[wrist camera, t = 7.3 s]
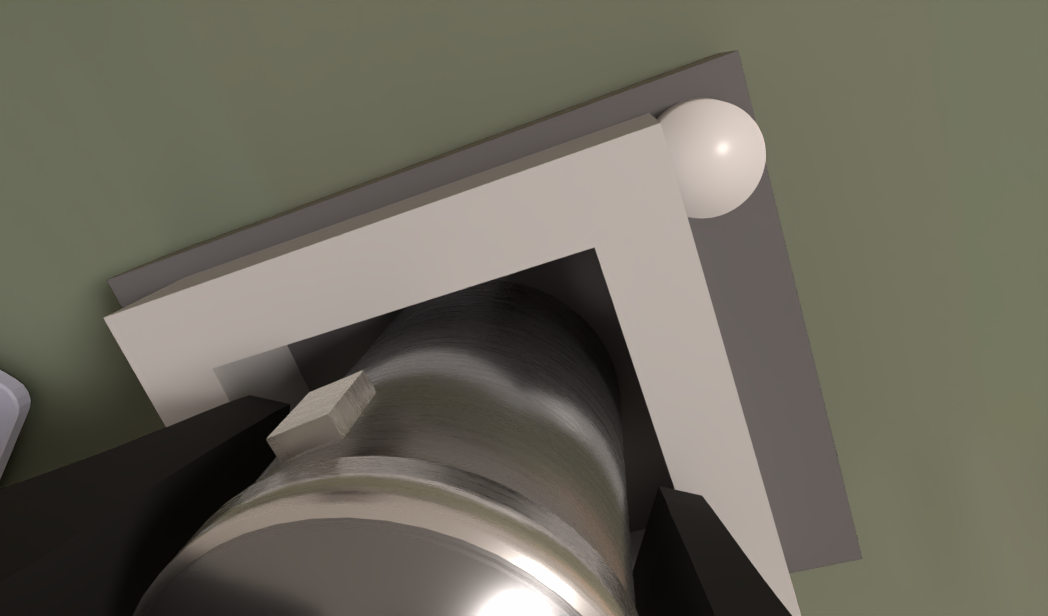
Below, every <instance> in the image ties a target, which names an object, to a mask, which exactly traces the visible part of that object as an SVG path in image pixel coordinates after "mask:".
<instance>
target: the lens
mask: <svg viewBox="0 0 1048 616" xmlns="http://www.w3.org/2000/svg"><path fill="white" fill-rule="evenodd" d="M266 440H267V442H268V443H269V445H270V447H271V448H272V450H273V451H274V453H275V454H276V456H277V457H276V458H275V459H274V460H273V461H272V462H271V464H270V465H269V466H268V467H267V468H266V469H265V471H264V472H263V473H262V474H261V475H260V476H259V478H258V479H257V480H256V481H255V482H254V483H253V485H251V486H249V487H248V488H246V489H245V490H243V491H242V492H240V493H239V494H237V495H236V496H234V497H233V498H231V499H230V500H229V501H227V502H226V503H225V504H224V505H223V506H222V507H221V508H220V509H219V510H218V511H216V512H215V513H214V514H213V515H212V516H211V517H210V518H209V519H208V520H207V521H206V522H205V523H204V524H203V526H202V527H201V528H200V529H199V530H198V531H197V532H196V533H195V535H194V536H193V537H192V538H191V539H190V540H189V541H188V542H187V544H186V545H185V546H184V547H183V548H182V549H181V550H180V551H179V553H178V554H177V555H176V556H175V557H174V558H173V559H172V560H171V562H170V563H169V564H168V565H167V566H166V567H165V568H164V569H163V571H162V572H161V573H160V574H159V575H158V577H157V578H156V579H155V580H154V582H153V583H152V584H151V586H150V587H149V588H148V590H147V591H146V592H145V594H144V595H143V596H142V598H141V600H140V602H139V604H138V606H137V608H136V610H135V612H134V614H133V616H638V613H637V611H636V607H635V594H634V581H633V567H632V554H631V541H630V528H629V515H628V501H627V488H626V475H625V462H624V449H623V436H622V422H621V409H620V396H619V385H618V381H617V376H616V372H615V369H614V366H613V363H612V361H611V358H610V355H609V354H608V352H607V350H606V348H605V346H604V344H603V343H602V341H601V339H600V338H599V337H598V335H597V334H596V333H595V331H594V330H593V329H592V327H591V326H590V325H589V324H588V323H587V322H586V321H585V320H584V319H583V318H582V317H581V316H580V315H579V314H578V313H576V312H575V311H574V310H573V309H571V308H570V307H569V306H568V305H566V304H565V303H563V302H561V301H560V300H558V299H556V298H555V297H553V296H552V295H549V294H547V293H545V292H543V291H540V290H538V289H536V288H533V287H530V286H526V285H523V284H520V283H515V282H510V281H504V280H490V281H487V282H484V283H480V284H477V285H474V286H471V287H468V288H465V289H462V290H458V291H455V292H452V293H449V294H446V295H443V296H439V297H436V298H433V299H430V300H427V301H424V302H420V303H417V304H414V305H411V306H408V307H406V308H405V309H404V310H403V311H402V312H401V313H399V314H398V315H397V316H396V317H395V318H394V320H393V321H392V322H391V323H390V324H389V325H388V327H387V328H386V329H385V330H384V331H383V332H382V334H381V335H380V336H379V337H378V338H377V340H376V341H375V342H374V343H373V344H372V345H371V347H370V348H369V349H368V350H367V351H366V352H365V354H364V355H363V356H362V357H361V358H360V359H359V361H358V362H357V363H356V364H355V365H354V366H353V368H352V369H351V370H350V371H349V372H348V373H347V375H346V376H345V377H344V378H343V379H340V380H338V381H336V382H333V383H331V384H328V385H326V386H324V387H321V388H319V389H316V390H314V391H312V392H309V393H308V394H307V395H306V396H305V397H304V398H303V400H302V401H301V402H300V403H299V404H298V405H297V406H296V407H295V408H294V409H293V410H292V411H291V412H290V414H289V415H288V416H287V417H286V418H285V419H284V420H283V421H282V422H281V423H280V424H279V425H278V427H277V428H276V429H275V430H274V431H273V432H272V433H271V434H270V435H269V436H268V437H267V438H266Z"/></svg>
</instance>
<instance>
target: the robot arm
mask: <svg viewBox="0 0 1048 616" xmlns="http://www.w3.org/2000/svg"><path fill="white" fill-rule="evenodd" d="M30 404H31V399H30V396H29V392H28V391H27V389H26V388H25V386H24V385H23V384H22V383H21V382H19V381H18V380H17V379H15V378H13V377H12V376H10V375H8V374H7V373H5V372H3V371H2V370H0V479H1V477H2V474H3V472H4V469H5V467H6V465H7V462H8V460H9V457H10V455H11V453H12V450H13V448H14V445H15V443H16V440H17V438H18V436H19V433H20V431H21V428H22V426H23V424H24V421H25V419H26V416H27V414H28V411H29V409H30ZM289 414H290V404H288V403H283V402H279V401H274V400H270V399H265V398H261V397H256V396H252V395H248V396H245V397H242V398H239V399H236V400H233V401H230V402H228V403H225V404H223V405H220V406H217V407H215V408H212V409H210V410H207V411H205V412H202V413H200V414H197V415H195V416H193V417H190V418H188V419H185V420H183V421H180V422H178V423H176V424H173V425H171V426H168V427H166V428H163V429H161V430H158V431H156V432H153V433H151V434H148V435H146V436H143V437H141V438H138V439H136V440H133V441H131V442H129V443H126V444H124V445H121V446H119V447H116V448H114V449H111V450H108V451H106V452H103V453H100V454H98V455H95V456H92V457H89V458H87V459H84V460H81V461H78V462H76V463H73V464H70V465H67V466H65V467H62V468H59V469H56V470H54V471H51V472H48V473H45V474H43V475H40V476H37V477H34V478H32V479H29V480H26V481H23V482H21V483H18V484H15V485H12V486H9V487H6V488H3V489H0V616H133V614H134V612H135V610H136V608H137V606H138V604H139V602H140V600H141V598H142V596H143V595H144V594H145V592H146V591H147V590H148V588H149V587H150V586H151V584H152V583H153V582H154V580H155V579H156V578H157V577H158V575H159V574H160V573H161V572H162V571H163V569H164V568H165V567H166V566H167V565H168V564H169V563H170V562H171V560H172V559H173V558H174V557H175V556H176V555H177V554H178V553H179V551H180V550H181V549H182V548H183V547H184V546H185V545H186V544H187V542H188V541H189V540H190V539H191V538H192V537H193V536H194V535H195V533H196V532H197V531H198V530H199V529H200V528H201V527H202V526H203V524H204V523H205V522H206V521H207V520H208V519H209V518H210V517H211V516H212V515H213V514H214V513H215V512H216V511H218V510H219V509H220V508H221V507H222V506H223V505H224V504H225V503H226V502H227V501H229V500H230V499H231V498H233V497H234V496H236V495H237V494H239V493H240V492H242V491H243V490H245V489H246V488H248V487H249V486H251V485H253V483H254V482H255V481H256V480H257V479H258V478H259V476H260V475H261V474H262V473H263V472H264V471H265V469H266V468H267V467H268V466H269V465H270V464H271V462H272V461H273V460H274V459H275V458H276V457H277V456H276V454H275V453H274V451H273V450H272V448H271V447H270V445H269V443H268V442H267V440H266V438H267V437H268V436H269V435H270V434H271V433H272V432H273V431H274V430H275V429H276V428H277V427H278V425H279V424H280V423H281V422H282V421H283V420H284V419H285V418H286V417H287V416H288V415H289ZM633 581H634V594H635V607H636V611H637V613H638V616H792V615H791V614H790V612H789V611H788V610H787V608H786V607H785V606H784V605H783V603H782V602H781V601H780V600H779V598H778V597H777V596H776V594H775V593H774V592H773V590H772V589H771V588H770V587H769V585H768V584H767V583H766V581H765V580H764V579H763V577H762V576H761V575H760V573H759V572H758V571H757V569H756V568H755V567H754V565H753V564H752V563H751V561H750V560H749V559H748V557H747V556H746V554H745V553H744V552H743V550H742V549H741V548H740V546H739V545H738V544H737V542H736V541H735V539H734V538H733V537H732V535H731V534H730V532H729V531H728V530H727V528H726V527H725V526H724V524H723V523H722V521H721V520H720V519H719V517H718V516H717V515H716V513H715V512H714V510H713V509H712V508H711V506H710V505H709V504H708V503H707V501H706V500H705V499H704V497H703V496H702V495H697V494H693V493H688V492H684V491H679V490H675V489H670V488H666V487H661V486H659V487H658V490H657V493H656V497H655V500H654V503H653V507H652V510H651V513H650V516H649V520H648V523H647V526H646V529H645V533H644V536H643V539H642V542H641V546H640V549H639V552H638V556H637V559H636V562H635V565H634V569H633Z"/></svg>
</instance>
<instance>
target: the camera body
mask: <svg viewBox="0 0 1048 616" xmlns="http://www.w3.org/2000/svg"><path fill="white" fill-rule="evenodd" d="M765 159H766V150H765V143H764V139H763V136H762V133H761V131H760V129H759V127H758V126H757V124H756V121H755V117H754V113H753V109H752V105H751V101H750V97H749V93H748V88H747V84H746V80H745V76H744V72H743V68H742V64H741V60H740V56H739V52H738V50H737V51H730V52H723V53H718V54H715V55H713V56H710V57H707V58H704V59H702V60H699V61H696V62H693V63H691V64H688V65H685V66H682V67H680V68H677V69H674V70H672V71H669V72H666V73H663V74H661V75H658V76H655V77H652V78H650V79H647V80H644V81H641V82H639V83H636V84H633V85H630V86H628V87H625V88H622V89H620V90H617V91H614V92H611V93H609V94H606V95H603V96H600V97H598V98H595V99H592V100H589V101H587V102H584V103H581V104H578V105H576V106H573V107H570V108H568V109H565V110H562V111H559V112H557V113H554V114H551V115H548V116H546V117H543V118H540V119H537V120H535V121H532V122H529V123H526V124H524V125H521V126H518V127H515V128H513V129H510V130H507V131H505V132H502V133H499V134H496V135H494V136H491V137H488V138H485V139H483V140H480V141H477V142H474V143H472V144H469V145H466V146H463V147H461V148H458V149H455V150H453V151H450V152H447V153H444V154H442V155H439V156H436V157H433V158H431V159H428V160H425V161H422V162H420V163H417V164H414V165H411V166H409V167H406V168H403V169H401V170H398V171H395V172H392V173H390V174H387V175H384V176H381V177H379V178H376V179H373V180H370V181H368V182H365V183H362V184H359V185H357V186H354V187H351V188H348V189H346V190H343V191H340V192H338V193H335V194H332V195H329V196H327V197H324V198H321V199H318V200H316V201H313V202H310V203H307V204H305V205H302V206H299V207H296V208H294V209H291V210H288V211H286V212H283V213H280V214H277V215H275V216H272V217H269V218H266V219H264V220H261V221H258V222H255V223H253V224H250V225H247V226H244V227H242V228H239V229H236V230H234V231H231V232H228V233H225V234H223V235H220V236H217V237H214V238H212V239H209V240H206V241H203V242H201V243H198V244H195V245H192V246H190V247H187V248H184V249H181V250H179V251H176V252H173V253H171V254H168V255H165V256H162V257H160V258H158V259H155V260H153V261H151V262H148V263H146V264H144V265H141V266H139V267H137V268H134V269H132V270H130V271H127V272H125V273H122V274H120V275H118V276H115V277H113V278H111V279H108V280H107V281H108V283H109V285H110V287H111V289H112V290H113V292H114V294H115V296H116V298H117V299H118V301H119V303H120V305H121V306H122V309H120V310H118V311H116V312H114V313H112V314H110V315H108V316H106V317H104V320H105V322H106V323H107V325H108V327H109V329H110V330H111V332H112V334H113V336H114V337H115V339H116V341H117V343H118V344H119V346H120V348H121V350H122V351H123V353H124V355H125V357H126V358H127V360H128V362H129V364H130V365H131V367H132V369H133V371H134V372H135V374H136V376H137V378H138V379H139V381H140V383H141V385H142V386H143V388H144V390H145V391H146V393H147V395H148V397H149V398H150V400H151V402H152V404H153V405H154V407H155V409H156V411H157V412H158V414H159V416H160V418H161V419H162V421H163V423H164V425H165V426H166V427H168V426H171V425H173V424H176V423H178V422H180V421H183V420H185V419H188V418H190V417H193V416H195V415H197V414H200V413H202V412H205V411H207V410H210V409H212V408H215V407H217V406H220V405H223V404H225V403H228V402H230V401H233V400H236V399H239V398H242V397H245V396H248V395H252V396H256V397H261V398H265V399H270V400H274V401H279V402H283V403H288V404H290V412H291V411H292V410H293V409H294V408H295V407H296V406H297V405H298V404H299V403H300V402H301V401H302V400H303V398H304V397H305V396H306V395H307V394H308V393H309V392H312V391H314V390H316V389H319V388H321V387H324V386H326V385H328V384H331V383H333V382H336V381H338V380H340V379H343V378H344V377H345V376H346V375H347V373H348V372H349V371H350V370H351V369H352V368H353V366H354V365H355V364H356V363H357V362H358V361H359V359H360V358H361V357H362V356H363V355H364V354H365V352H366V351H367V350H368V349H369V348H370V347H371V345H372V344H373V343H374V342H375V341H376V340H377V338H378V337H379V336H380V335H381V334H382V332H383V331H384V330H385V329H386V328H387V327H388V325H389V324H390V323H391V322H392V321H393V320H394V318H395V317H396V316H397V315H398V314H399V313H401V312H402V311H403V310H404V309H405V308H406V307H408V306H411V305H414V304H417V303H420V302H424V301H427V300H430V299H433V298H436V297H439V296H443V295H446V294H449V293H452V292H455V291H458V290H462V289H465V288H468V287H471V286H474V285H477V284H480V283H484V282H487V281H490V280H504V281H510V282H515V283H520V284H523V285H526V286H530V287H533V288H536V289H538V290H540V291H543V292H545V293H547V294H549V295H552V296H553V297H555V298H556V299H558V300H560V301H561V302H563V303H565V304H566V305H568V306H569V307H570V308H571V309H573V310H574V311H575V312H576V313H578V314H579V315H580V316H581V317H582V318H583V319H584V320H585V321H586V322H587V323H588V324H589V325H590V326H591V327H592V329H593V330H594V331H595V333H596V334H597V335H598V337H599V338H600V339H601V341H602V343H603V344H604V346H605V348H606V350H607V352H608V354H609V355H610V358H611V361H612V363H613V366H614V369H615V372H616V376H617V381H618V385H619V396H620V409H621V422H622V436H623V449H624V462H625V475H626V488H627V501H628V515H629V528H630V541H631V554H632V567H633V569H634V565H635V562H636V559H637V556H638V552H639V549H640V546H641V542H642V539H643V536H644V533H645V529H646V526H647V523H648V520H649V516H650V513H651V510H652V507H653V503H654V500H655V497H656V493H657V490H658V487H659V486H661V487H666V488H670V489H675V490H679V491H684V492H688V493H693V494H697V495H702V496H703V497H704V499H705V500H706V501H707V503H708V504H709V505H710V506H711V508H712V509H713V510H714V512H715V513H716V515H717V516H718V517H719V519H720V520H721V521H722V523H723V524H724V526H725V527H726V528H727V530H728V531H729V532H730V534H731V535H732V537H733V538H734V539H735V541H736V542H737V544H738V545H739V546H740V548H741V549H742V550H743V552H744V553H745V554H746V556H747V557H748V559H749V560H750V561H751V563H752V564H753V565H754V567H755V568H756V569H757V571H758V572H759V573H760V575H761V576H762V577H763V579H764V580H765V581H766V583H767V584H768V585H769V587H770V588H771V589H772V590H773V592H774V593H775V594H776V596H777V597H778V598H779V600H780V601H781V602H782V603H783V605H784V606H785V607H786V608H787V610H788V611H789V612H790V614H791V615H792V616H801V614H800V610H799V607H798V603H797V600H796V596H795V592H794V589H793V585H792V582H791V578H790V575H789V573H794V572H799V571H804V570H809V569H814V568H819V567H824V566H829V565H834V564H839V563H844V562H849V561H854V560H859V559H862V556H861V551H860V547H859V543H858V539H857V535H856V531H855V527H854V523H853V519H852V515H851V510H850V506H849V502H848V498H847V494H846V490H845V486H844V482H843V478H842V474H841V469H840V465H839V461H838V457H837V453H836V449H835V445H834V441H833V437H832V433H831V429H830V424H829V420H828V416H827V412H826V408H825V404H824V400H823V396H822V392H821V388H820V383H819V379H818V375H817V371H816V367H815V363H814V359H813V355H812V351H811V347H810V342H809V338H808V334H807V330H806V326H805V322H804V318H803V314H802V310H801V306H800V302H799V297H798V293H797V289H796V285H795V281H794V277H793V273H792V269H791V265H790V261H789V256H788V252H787V248H786V244H785V240H784V236H783V232H782V228H781V224H780V220H779V215H778V211H777V207H776V203H775V199H774V195H773V191H772V187H771V183H770V179H769V175H768V170H767V166H766V162H765Z"/></svg>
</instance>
